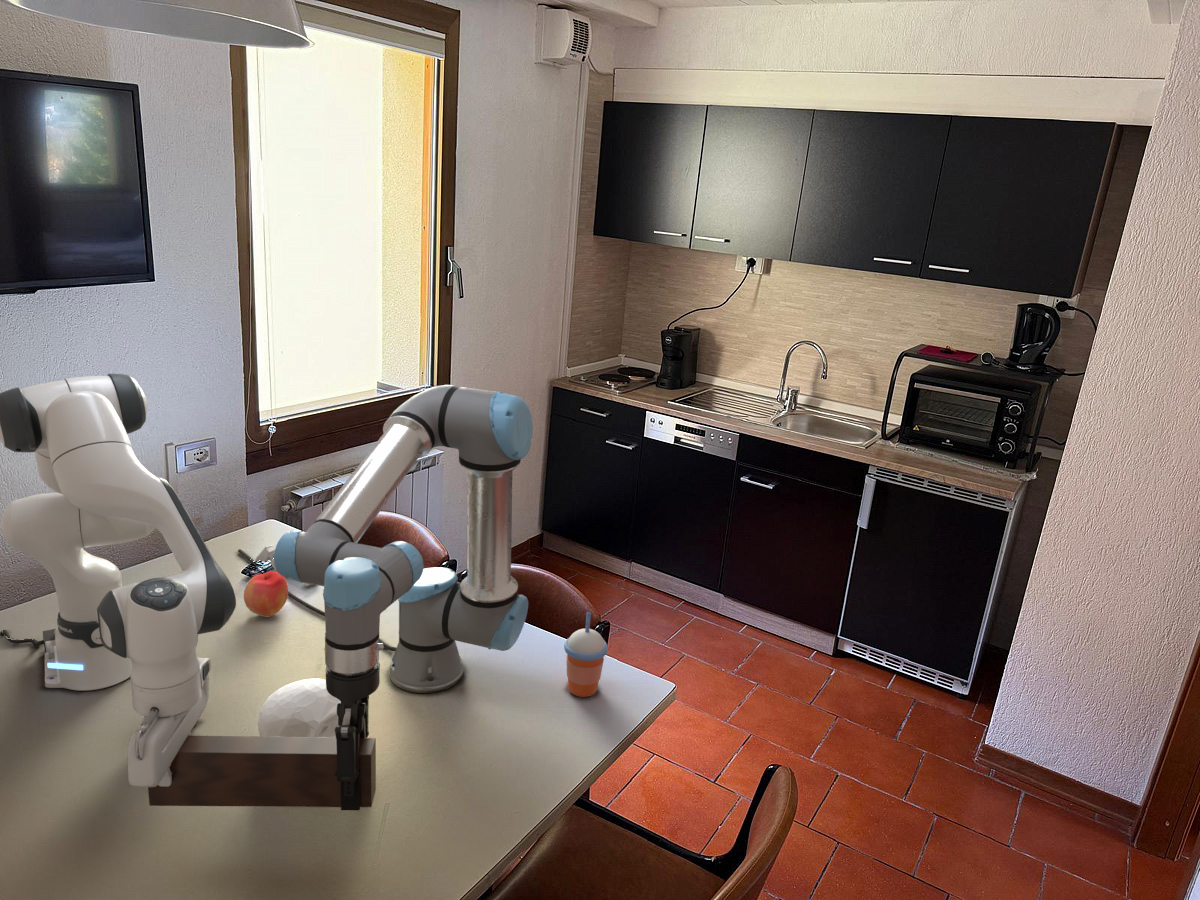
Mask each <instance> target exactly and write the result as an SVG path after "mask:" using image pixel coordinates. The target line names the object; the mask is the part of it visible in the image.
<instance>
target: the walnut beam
mask: <svg viewBox="0 0 1200 900" xmlns="http://www.w3.org/2000/svg"><path fill="white" fill-rule="evenodd" d="M376 739H377V738H376V737H368V738H359V767H358V771H360V808H372V806H373V802H374V798H375V795H376V790H377V781H376V780H377V740H376ZM169 768H170V770H174V780H173V781H172V783H171V785H170V786H159V785H157V786H156V787H147V794H148V803H149V804H148V805H149V806H150V807H275V808H276V807H278V808H279V807H284V808H285V807H286V808H288V807H290V808H291V807H292V808H293V807H295V808H341V781H337V777H335V773H336V771H337V743H336V738H331V737H262V736H260V735H258V736H256V735H255V736H254V735H253V736H251V735H247V736H246V735H188V737H187V738H186V740H185V742H184V743H183V745H182V747H181V748H180V750H179V751H178V753H177V755H176V756H175V758H174V760H173V761H172V763H171V766H170V767H169Z"/></svg>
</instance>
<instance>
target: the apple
mask: <svg viewBox="0 0 1200 900" xmlns="http://www.w3.org/2000/svg"><path fill="white" fill-rule="evenodd" d="M288 591H289V584H288V581H287V579H286V577H284V576H282V575H280V574H279V573H278V572H275V571H268V570H267V571H266V573H263V574H262V573H259V574H255V575H254V576H253V577H251V578H250V579H249V580H248V582H247V583H246V585H245V587H244V590H243V601H244V604H245V607H247V609H248V610H249V611H250V612H252V613H253V614H255V615H257V616H261V617H265V618H269V617H273V616H275V615H276V614H278V613H279V612H280V611H281V610H282V609H283V607H284V606H285V605H286V603H287V600H288V597H289V596H288Z"/></svg>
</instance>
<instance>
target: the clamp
mask: <svg viewBox="0 0 1200 900" xmlns="http://www.w3.org/2000/svg"><path fill="white" fill-rule="evenodd" d="M276 545H277V544H272V545H266V546H264V547H263V549H262V550H261V551H260V552H259V554H258V555H257V556H256V557H255V559H254V561H255V562H256V561H259V560H262V561H268V560H271V562H270V563H269V564H271V565H272V566H273V568H274V571H275V572H277V570H276V567H275V565H274V559H273V558H274V552H275V548H276ZM272 559H273V560H272ZM270 571H271V570H270ZM303 584H304V585H305V587H309V586H312V584H310V583H303Z"/></svg>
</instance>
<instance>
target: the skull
mask: <svg viewBox="0 0 1200 900" xmlns="http://www.w3.org/2000/svg"><path fill="white" fill-rule="evenodd" d="M338 702H341V701H340V700H339V699H337V698H335V697H333V696H332V695H330V694H329V693H328V691H327V689H326V678H321V677H320V678H318V677H312V678H311V677H310V678H304V679H300V680H296V681H293V682H290V683H289V682H288V683H287V684H285V685H283V686H282V687H280V688H277V689H276V690H275V691H274V692H272V693H271V694H269V695H268V697H267V699H266V700H265V701H264V703H263V704H262V706H261V709H260V710H259V715H258V723H257V725H258V734H259V736H262V737H331V738H336V735H335V728H336V725H338V715H337V704H338Z"/></svg>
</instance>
